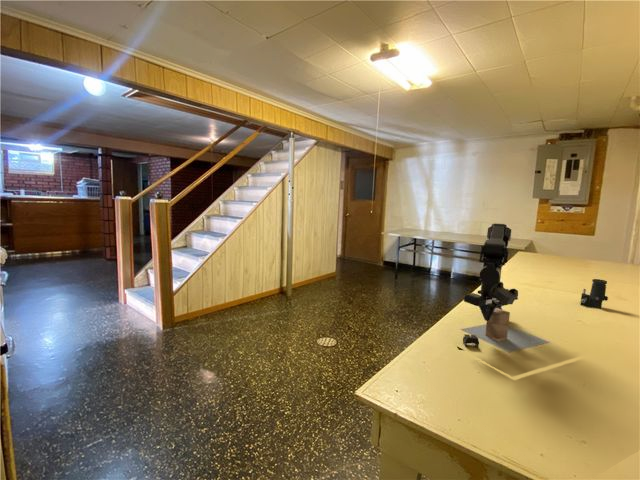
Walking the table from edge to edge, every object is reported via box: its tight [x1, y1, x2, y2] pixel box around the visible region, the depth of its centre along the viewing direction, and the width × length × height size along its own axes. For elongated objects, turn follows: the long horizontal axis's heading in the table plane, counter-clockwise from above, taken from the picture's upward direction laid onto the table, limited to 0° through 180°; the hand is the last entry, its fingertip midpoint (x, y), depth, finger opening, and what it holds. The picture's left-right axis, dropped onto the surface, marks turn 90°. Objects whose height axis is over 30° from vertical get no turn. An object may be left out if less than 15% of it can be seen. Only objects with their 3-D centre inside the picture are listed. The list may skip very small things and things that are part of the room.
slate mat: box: [460, 323, 550, 353], centre depth 117 cm, size 20×22×1 cm
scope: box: [580, 278, 609, 310], centre depth 156 cm, size 8×14×10 cm
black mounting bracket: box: [456, 334, 480, 351], centre depth 107 cm, size 12×7×5 cm, turn 82°
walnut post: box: [485, 308, 511, 341], centre depth 114 cm, size 5×5×10 cm
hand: (486, 320), depth 112 cm, fingers closed
